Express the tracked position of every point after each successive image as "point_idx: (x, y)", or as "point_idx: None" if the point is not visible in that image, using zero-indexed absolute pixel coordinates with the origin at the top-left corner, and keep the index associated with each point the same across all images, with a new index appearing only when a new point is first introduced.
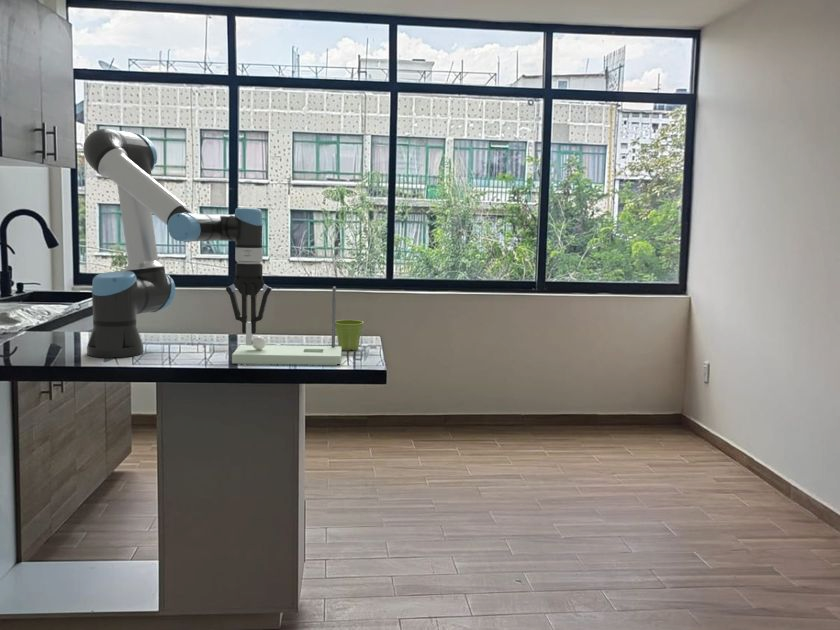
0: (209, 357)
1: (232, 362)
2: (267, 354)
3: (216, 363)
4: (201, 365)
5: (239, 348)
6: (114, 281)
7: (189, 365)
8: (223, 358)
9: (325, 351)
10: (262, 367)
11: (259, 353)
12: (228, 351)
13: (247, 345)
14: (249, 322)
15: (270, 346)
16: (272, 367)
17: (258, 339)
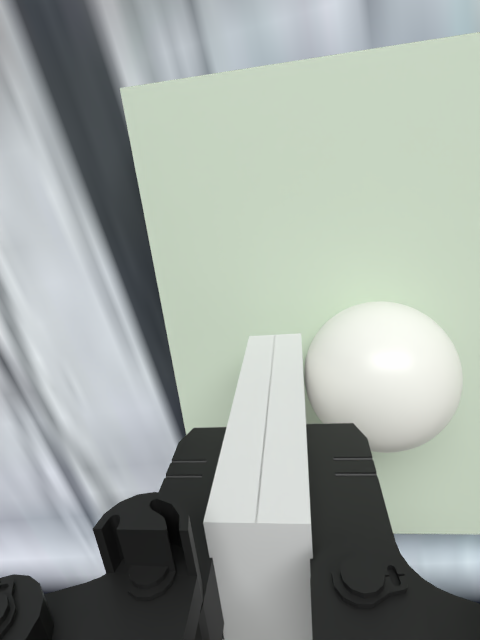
0: (9, 330)
1: None
2: (457, 515)
3: (131, 491)
4: (80, 538)
5: (181, 309)
6: None
7: (26, 541)
8: (109, 350)
9: None
10: (412, 565)
11: (390, 487)
12: (18, 34)
13: (204, 121)
14: (274, 607)
15: (471, 129)
16: (473, 563)
17: (389, 452)
